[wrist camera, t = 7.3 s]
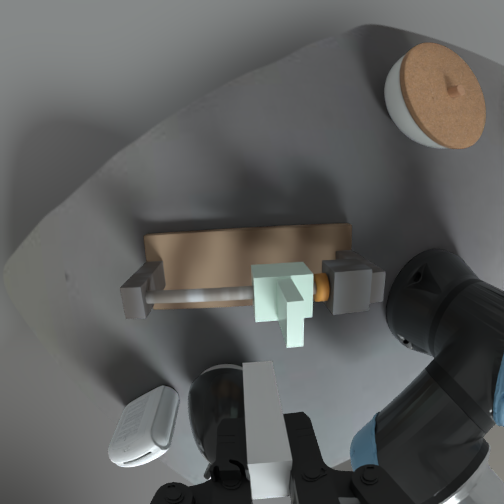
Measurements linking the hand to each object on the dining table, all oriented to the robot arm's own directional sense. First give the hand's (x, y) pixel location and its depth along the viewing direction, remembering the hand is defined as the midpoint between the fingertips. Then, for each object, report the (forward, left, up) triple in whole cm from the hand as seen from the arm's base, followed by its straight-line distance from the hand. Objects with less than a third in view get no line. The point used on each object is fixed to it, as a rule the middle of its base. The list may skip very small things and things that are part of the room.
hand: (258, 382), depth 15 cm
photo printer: (+15, +21, -22) cm, 34 cm away
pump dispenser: (+3, +17, -22) cm, 28 cm away
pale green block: (-3, 0, -15) cm, 15 cm away
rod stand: (-1, 0, -22) cm, 22 cm away
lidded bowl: (-23, -20, -22) cm, 38 cm away
